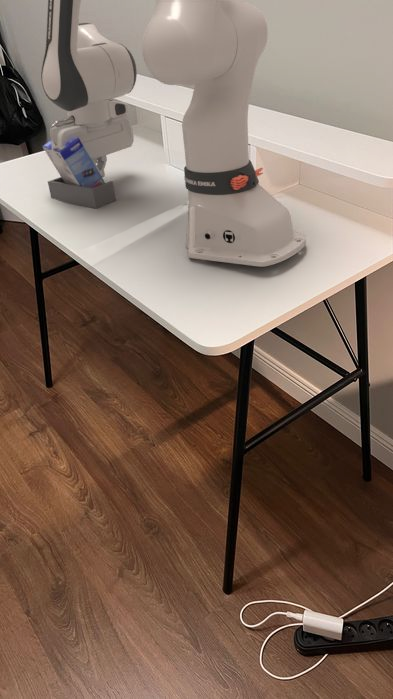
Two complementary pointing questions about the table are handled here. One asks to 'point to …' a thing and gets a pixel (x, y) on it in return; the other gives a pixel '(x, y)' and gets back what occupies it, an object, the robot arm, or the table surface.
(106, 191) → the bay
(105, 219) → the table surface
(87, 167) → the ink cartridge box
